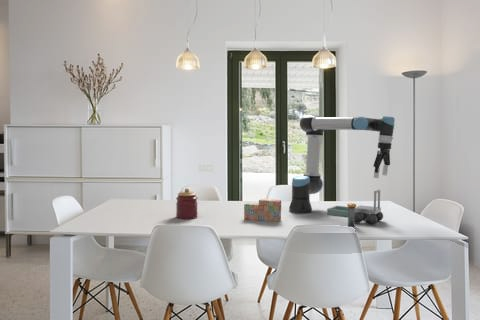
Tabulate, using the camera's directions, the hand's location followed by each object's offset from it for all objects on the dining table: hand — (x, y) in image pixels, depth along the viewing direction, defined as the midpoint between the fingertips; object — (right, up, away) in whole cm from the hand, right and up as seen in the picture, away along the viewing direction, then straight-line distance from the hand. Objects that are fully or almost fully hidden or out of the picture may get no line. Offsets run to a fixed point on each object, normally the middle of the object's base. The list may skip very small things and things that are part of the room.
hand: (380, 176), depth 225 cm
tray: (-19, -25, +14) cm, 34 cm away
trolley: (-12, -26, -11) cm, 31 cm away
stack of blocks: (-73, -26, -6) cm, 77 cm away
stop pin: (-24, -26, -21) cm, 42 cm away
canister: (-119, -25, 0) cm, 121 cm away
